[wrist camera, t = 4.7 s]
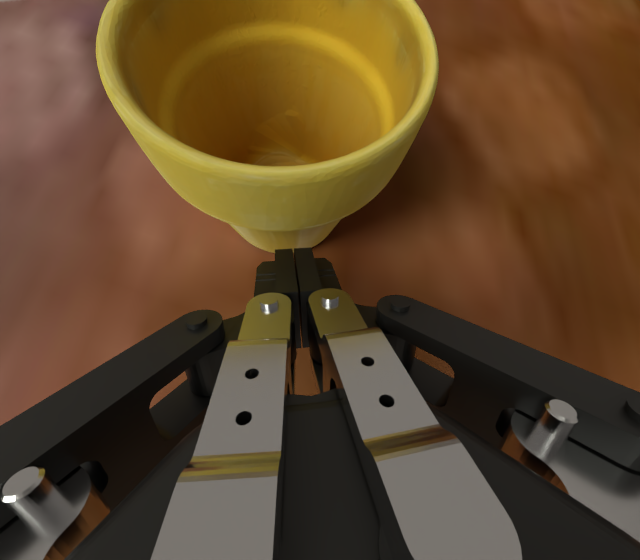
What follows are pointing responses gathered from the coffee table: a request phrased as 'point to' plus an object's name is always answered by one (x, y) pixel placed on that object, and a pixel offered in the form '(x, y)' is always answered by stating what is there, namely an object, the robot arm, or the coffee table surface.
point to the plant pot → (271, 103)
